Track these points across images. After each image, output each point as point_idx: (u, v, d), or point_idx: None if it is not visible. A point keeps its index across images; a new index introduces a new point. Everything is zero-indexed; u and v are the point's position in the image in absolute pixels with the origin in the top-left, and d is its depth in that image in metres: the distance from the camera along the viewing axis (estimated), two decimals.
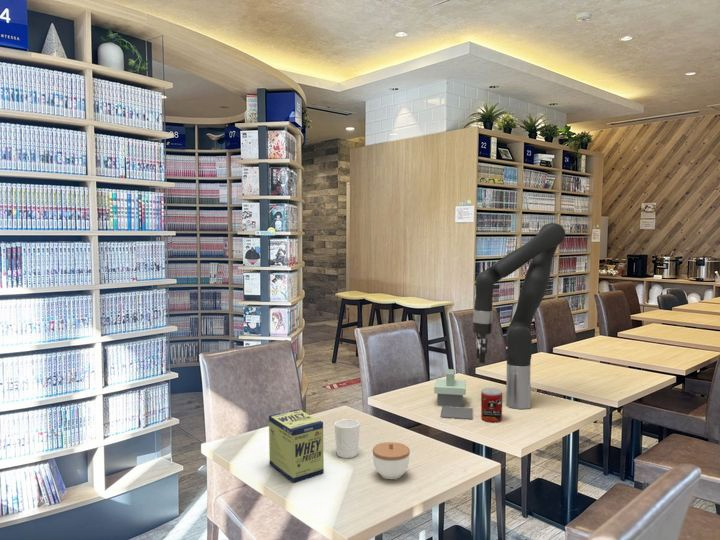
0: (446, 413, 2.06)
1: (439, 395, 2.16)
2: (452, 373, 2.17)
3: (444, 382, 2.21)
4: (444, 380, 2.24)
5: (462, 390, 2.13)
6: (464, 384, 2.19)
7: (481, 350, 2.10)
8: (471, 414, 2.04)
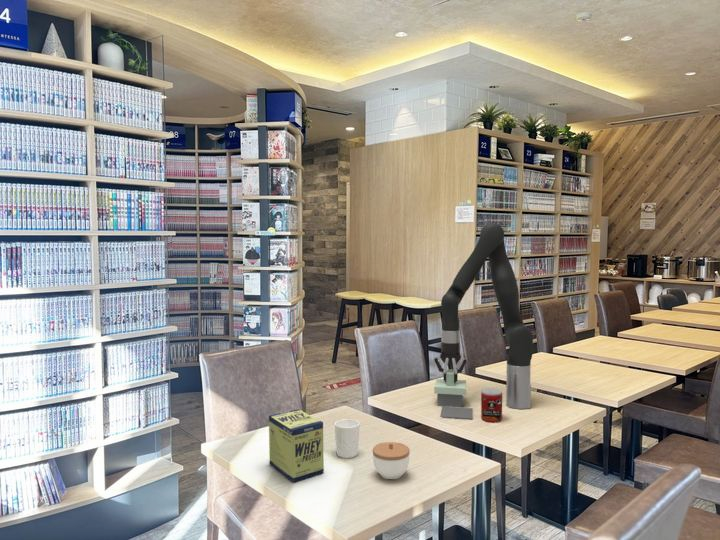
0: (446, 413, 2.06)
1: (439, 395, 2.16)
2: (452, 373, 2.17)
3: (444, 382, 2.21)
4: None
5: (462, 390, 2.13)
6: (464, 384, 2.19)
7: (461, 369, 2.17)
8: (471, 414, 2.04)
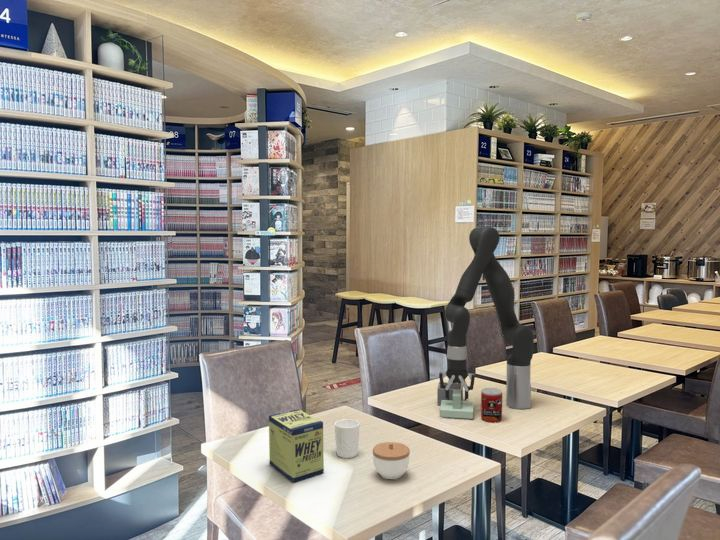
0: None
1: (439, 395, 2.16)
2: (459, 395, 2.04)
3: (450, 404, 2.08)
4: (450, 401, 2.11)
5: (469, 413, 2.00)
6: (471, 406, 2.06)
7: None
8: None
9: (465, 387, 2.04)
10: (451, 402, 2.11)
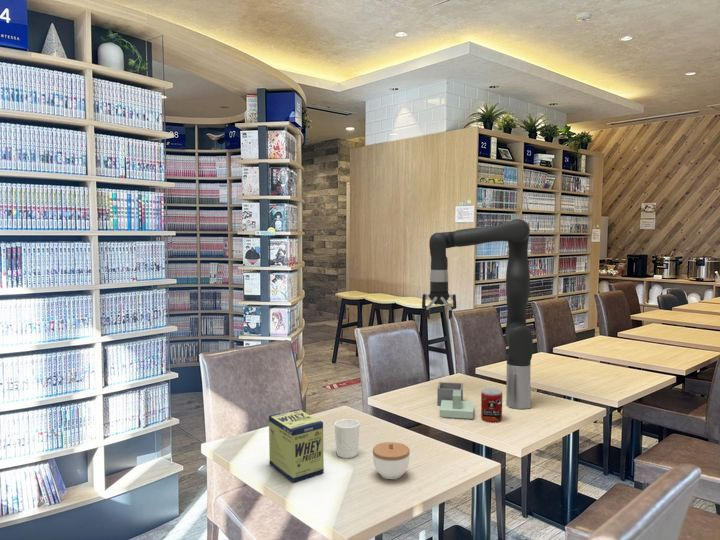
0: None
1: (439, 395, 2.16)
2: (459, 395, 2.04)
3: (450, 404, 2.08)
4: (450, 401, 2.11)
5: (469, 413, 2.00)
6: (471, 406, 2.06)
7: None
8: None
9: (448, 307, 2.21)
10: (451, 402, 2.11)
